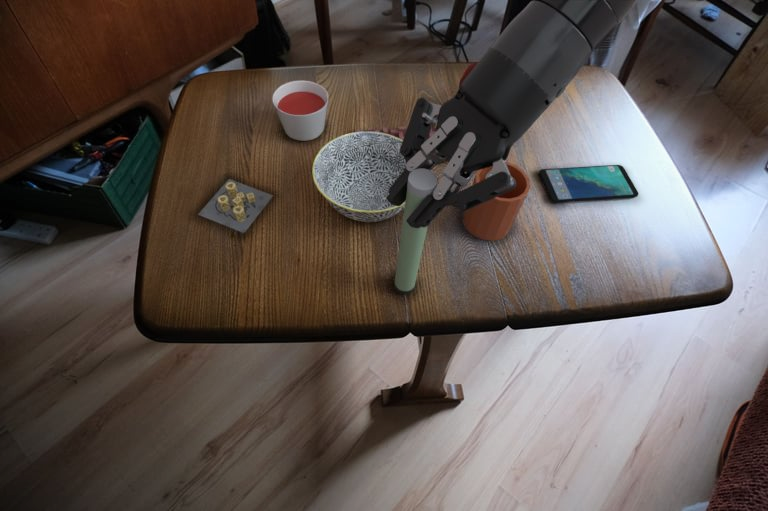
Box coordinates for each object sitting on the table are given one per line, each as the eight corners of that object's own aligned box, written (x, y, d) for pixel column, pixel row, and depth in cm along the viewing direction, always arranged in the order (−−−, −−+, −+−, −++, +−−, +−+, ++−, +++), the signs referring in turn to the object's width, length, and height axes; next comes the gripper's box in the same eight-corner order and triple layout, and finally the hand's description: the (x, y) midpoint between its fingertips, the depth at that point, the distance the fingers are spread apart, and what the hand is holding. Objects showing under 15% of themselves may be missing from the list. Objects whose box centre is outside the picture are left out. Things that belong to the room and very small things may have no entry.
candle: (271, 119, 78) (264, 88, 73) (318, 106, 81) (316, 75, 75) (288, 152, 74) (283, 121, 68) (338, 137, 76) (337, 106, 71)
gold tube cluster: (242, 223, 65) (239, 214, 64) (213, 211, 66) (209, 203, 64) (261, 199, 68) (259, 191, 66) (232, 188, 69) (229, 180, 67)
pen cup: (520, 224, 68) (541, 183, 60) (488, 249, 65) (505, 209, 57) (485, 195, 71) (500, 153, 63) (452, 218, 68) (464, 176, 60)
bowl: (349, 153, 74) (349, 116, 68) (435, 189, 71) (443, 154, 65) (295, 217, 66) (289, 182, 60) (389, 261, 63) (393, 229, 56)
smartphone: (538, 168, 73) (622, 163, 75) (536, 172, 74) (620, 167, 76) (552, 201, 69) (640, 195, 71) (550, 204, 70) (638, 198, 72)
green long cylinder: (419, 287, 61) (443, 180, 43) (403, 298, 59) (422, 194, 42) (405, 273, 62) (423, 163, 44) (389, 284, 61) (402, 176, 43)
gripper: (456, 14, 40) (344, 164, 46) (573, 100, 34) (426, 259, 40) (486, 52, 46) (383, 179, 52) (589, 130, 40) (460, 264, 46)
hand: (402, 213), depth 46 cm, fingers closed on green long cylinder, 3 cm apart
